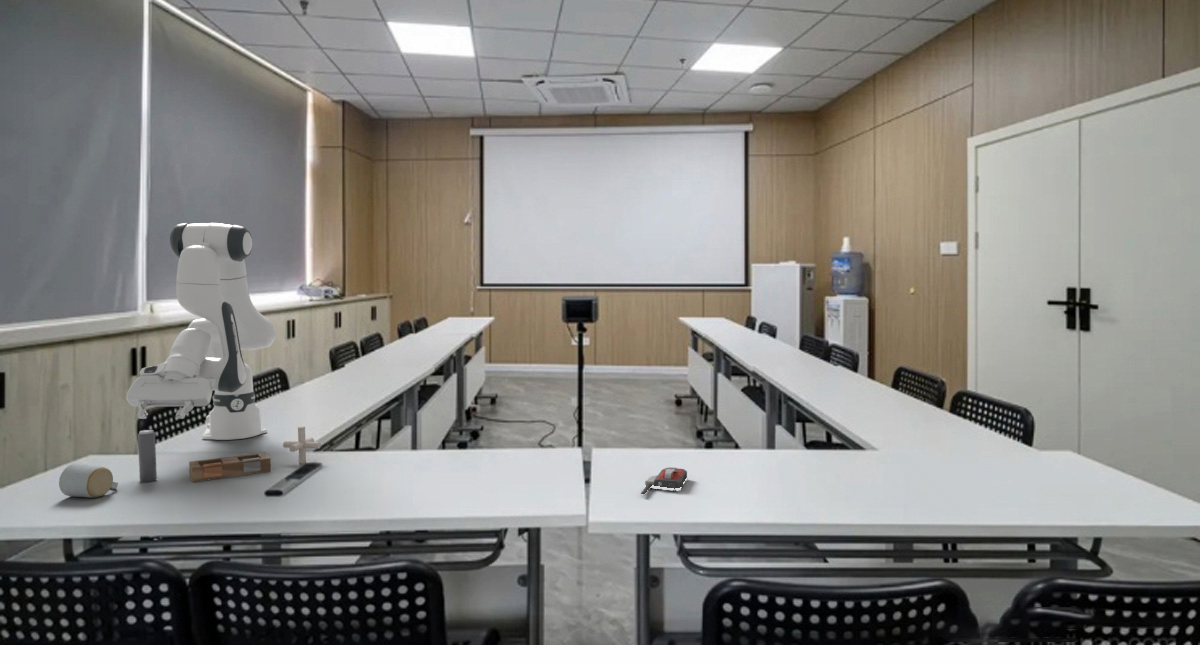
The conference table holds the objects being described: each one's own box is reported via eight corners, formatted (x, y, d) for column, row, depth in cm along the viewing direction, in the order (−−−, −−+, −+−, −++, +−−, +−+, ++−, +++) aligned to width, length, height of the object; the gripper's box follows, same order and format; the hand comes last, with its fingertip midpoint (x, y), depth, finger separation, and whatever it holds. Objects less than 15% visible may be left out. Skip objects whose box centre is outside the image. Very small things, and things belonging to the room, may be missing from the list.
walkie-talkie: (655, 477, 183) (637, 499, 164) (655, 460, 183) (637, 481, 164) (688, 479, 181) (675, 503, 162) (688, 463, 180) (675, 484, 161)
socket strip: (189, 475, 183) (189, 460, 182) (265, 464, 193) (264, 451, 193) (192, 482, 176) (192, 467, 175) (271, 471, 186) (270, 457, 186)
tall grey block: (139, 480, 178) (137, 430, 177) (156, 477, 180) (154, 429, 179) (140, 483, 175) (138, 433, 174) (157, 481, 177) (155, 431, 176)
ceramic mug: (89, 502, 160) (88, 468, 159) (58, 500, 161) (57, 466, 161) (127, 489, 170) (127, 458, 170) (98, 487, 172) (97, 456, 171)
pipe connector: (328, 458, 200) (327, 423, 199) (310, 467, 190) (309, 431, 189) (294, 457, 201) (293, 423, 200) (275, 466, 191) (274, 430, 190)
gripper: (221, 383, 196) (206, 424, 187) (144, 383, 194) (124, 424, 185) (214, 368, 191) (198, 410, 182) (134, 368, 189) (114, 410, 180)
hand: (160, 417), depth 183 cm, fingers open, 8 cm apart
